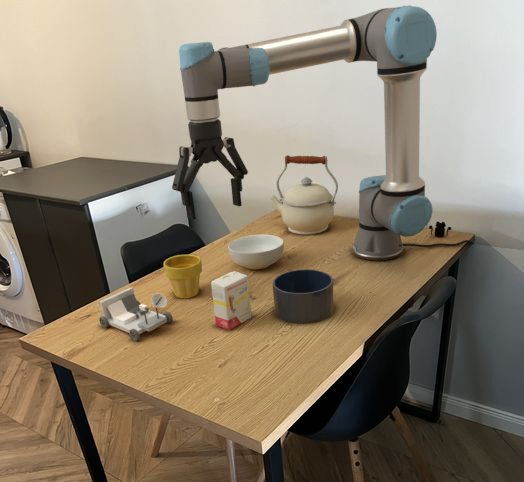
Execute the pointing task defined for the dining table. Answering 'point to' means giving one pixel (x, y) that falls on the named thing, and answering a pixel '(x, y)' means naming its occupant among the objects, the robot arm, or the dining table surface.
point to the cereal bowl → (256, 250)
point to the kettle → (306, 201)
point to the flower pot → (184, 274)
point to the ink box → (231, 300)
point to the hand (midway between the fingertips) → (215, 211)
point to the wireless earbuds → (440, 229)
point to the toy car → (133, 313)
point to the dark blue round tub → (303, 296)
